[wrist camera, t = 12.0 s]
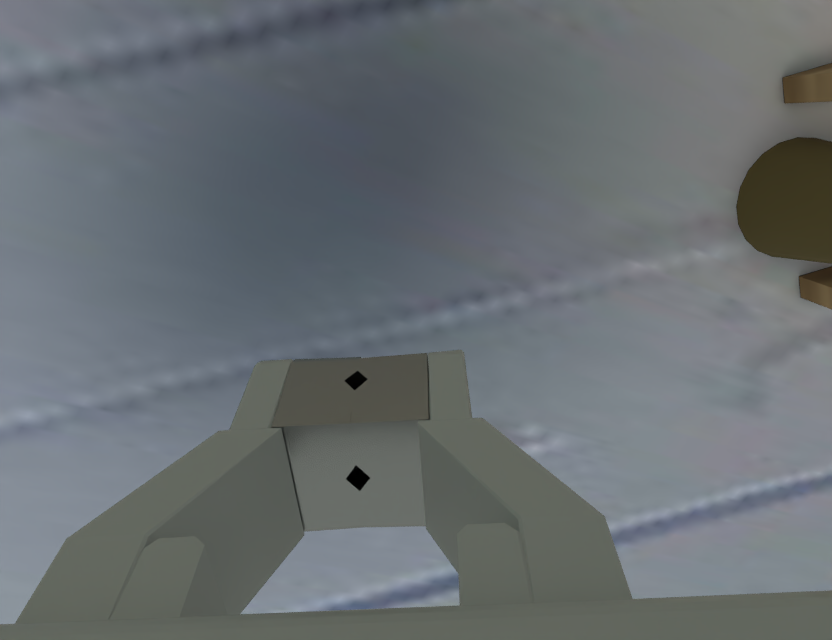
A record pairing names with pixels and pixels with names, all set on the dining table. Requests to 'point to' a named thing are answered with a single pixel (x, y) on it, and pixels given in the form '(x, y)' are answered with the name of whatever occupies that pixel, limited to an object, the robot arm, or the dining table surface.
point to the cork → (790, 201)
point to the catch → (805, 86)
